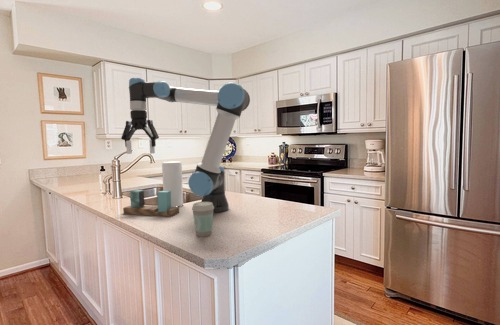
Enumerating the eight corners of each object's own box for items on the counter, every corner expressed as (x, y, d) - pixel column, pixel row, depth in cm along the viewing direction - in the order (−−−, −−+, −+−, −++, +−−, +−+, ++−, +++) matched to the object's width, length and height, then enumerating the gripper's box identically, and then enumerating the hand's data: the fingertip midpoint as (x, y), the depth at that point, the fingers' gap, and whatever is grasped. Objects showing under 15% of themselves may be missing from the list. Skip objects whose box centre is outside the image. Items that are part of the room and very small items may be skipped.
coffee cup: (194, 231, 111) (192, 201, 110) (215, 230, 112) (214, 200, 111) (191, 238, 103) (190, 206, 102) (214, 237, 103) (213, 205, 102)
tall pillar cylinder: (186, 203, 163) (184, 161, 161) (178, 207, 152) (176, 162, 150) (169, 203, 165) (167, 161, 163) (160, 207, 154) (158, 162, 152)
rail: (179, 212, 141) (178, 190, 140) (171, 216, 134) (170, 193, 134) (132, 210, 149) (131, 189, 148) (123, 213, 142) (122, 191, 141)
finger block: (171, 210, 141) (170, 190, 140) (167, 212, 137) (166, 192, 136) (161, 209, 142) (160, 190, 141) (157, 211, 138) (156, 192, 137)
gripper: (164, 110, 137) (166, 152, 138) (122, 112, 144) (125, 153, 145) (155, 108, 130) (157, 153, 131) (112, 111, 137) (114, 154, 138)
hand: (140, 153), depth 138 cm, fingers open, 13 cm apart
